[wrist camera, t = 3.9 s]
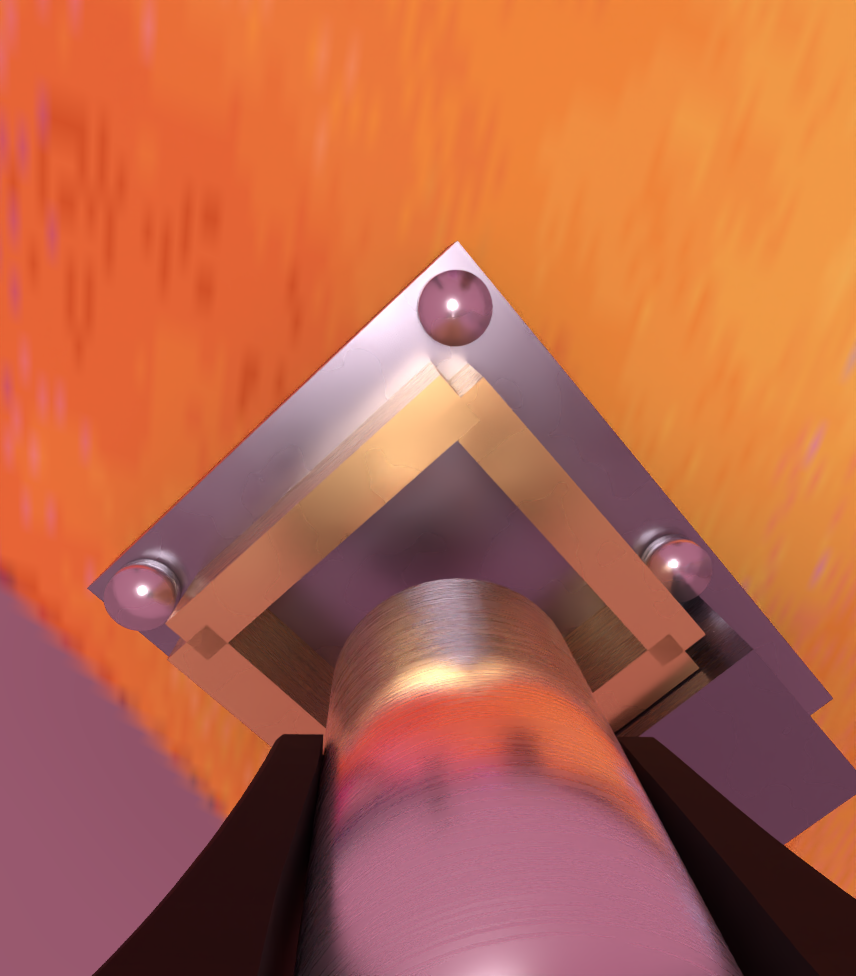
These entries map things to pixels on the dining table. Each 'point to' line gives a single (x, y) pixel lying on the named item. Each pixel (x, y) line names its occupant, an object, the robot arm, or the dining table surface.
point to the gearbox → (472, 550)
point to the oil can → (486, 810)
